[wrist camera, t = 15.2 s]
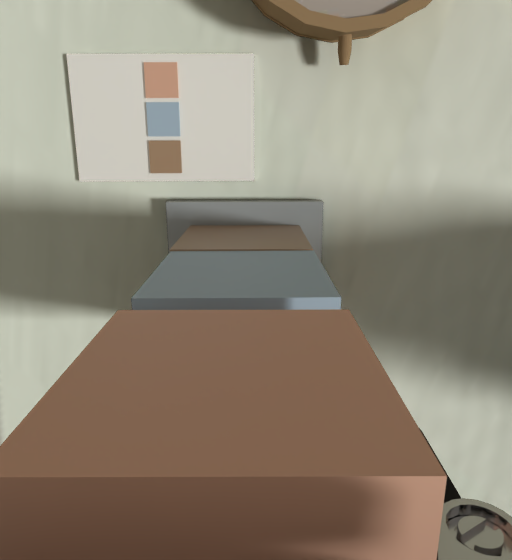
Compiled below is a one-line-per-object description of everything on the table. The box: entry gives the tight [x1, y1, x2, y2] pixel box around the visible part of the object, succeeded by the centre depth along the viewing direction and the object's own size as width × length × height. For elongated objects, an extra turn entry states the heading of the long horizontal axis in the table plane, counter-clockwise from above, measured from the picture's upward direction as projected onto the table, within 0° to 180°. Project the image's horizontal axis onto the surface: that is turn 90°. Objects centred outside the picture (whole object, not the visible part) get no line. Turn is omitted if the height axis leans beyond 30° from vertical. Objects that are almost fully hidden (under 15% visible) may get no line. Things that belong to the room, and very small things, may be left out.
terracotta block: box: [0, 309, 447, 560], centre depth 9 cm, size 6×6×6 cm
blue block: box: [131, 250, 341, 310], centre depth 16 cm, size 6×6×6 cm
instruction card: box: [66, 53, 254, 181], centre depth 23 cm, size 6×9×1 cm, turn 90°
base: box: [166, 200, 323, 262], centre depth 22 cm, size 8×8×7 cm
